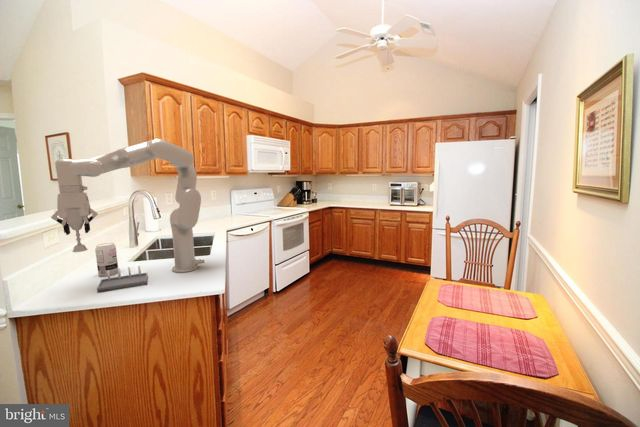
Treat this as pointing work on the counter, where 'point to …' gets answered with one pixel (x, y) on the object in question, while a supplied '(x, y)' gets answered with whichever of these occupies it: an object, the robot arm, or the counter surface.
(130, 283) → the drying rack
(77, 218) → the chalice
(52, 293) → the counter surface
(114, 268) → the supplement can
